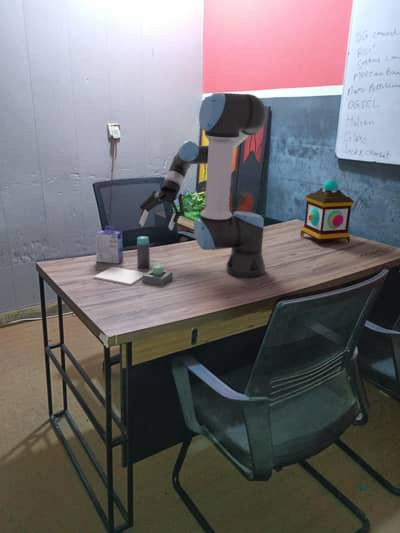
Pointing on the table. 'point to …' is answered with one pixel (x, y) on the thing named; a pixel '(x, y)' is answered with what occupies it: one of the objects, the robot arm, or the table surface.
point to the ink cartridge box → (109, 246)
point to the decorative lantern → (327, 214)
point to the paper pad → (120, 275)
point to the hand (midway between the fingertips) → (155, 226)
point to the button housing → (157, 278)
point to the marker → (143, 252)
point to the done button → (157, 270)
